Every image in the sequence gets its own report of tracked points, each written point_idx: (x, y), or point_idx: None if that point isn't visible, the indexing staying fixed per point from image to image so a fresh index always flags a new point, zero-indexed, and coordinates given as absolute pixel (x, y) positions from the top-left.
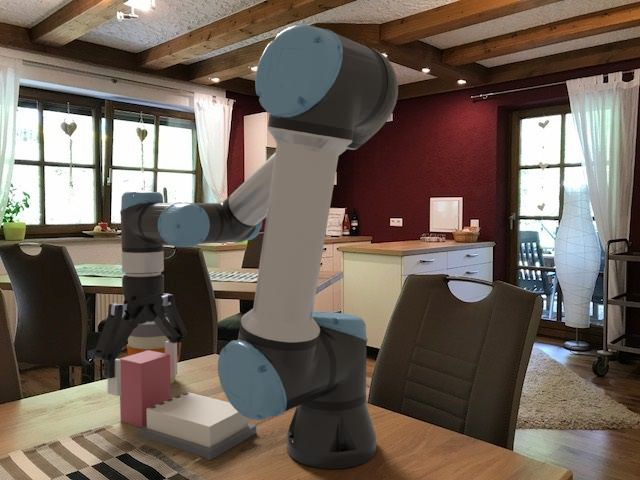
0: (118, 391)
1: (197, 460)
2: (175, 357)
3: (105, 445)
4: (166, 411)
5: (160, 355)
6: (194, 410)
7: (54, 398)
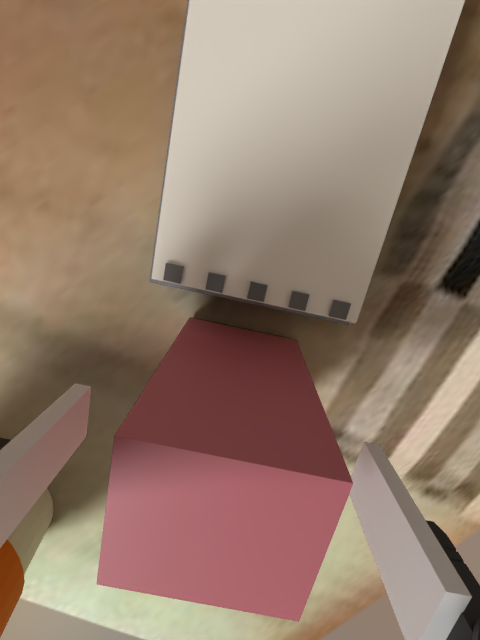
0: (382, 455)
1: (451, 41)
2: (34, 433)
3: (407, 365)
4: (365, 233)
5: (156, 475)
6: (326, 122)
7: (199, 627)
